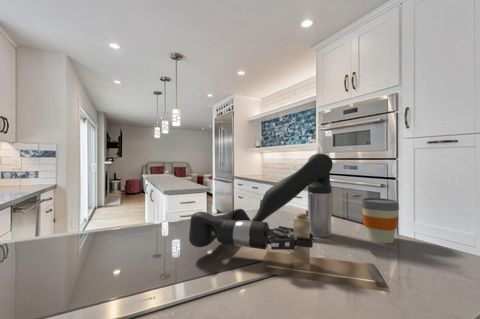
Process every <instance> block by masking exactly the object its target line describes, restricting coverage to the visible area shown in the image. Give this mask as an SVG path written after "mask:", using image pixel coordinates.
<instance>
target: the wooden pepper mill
mask: <svg viewBox="0 0 480 319" xmlns="http://www.w3.org/2000/svg"><path fill="white" fill-rule="evenodd" d="M293 229H294V237H297V239H298V237H301V238H310V217H306V213H301V212H299V213H297V214H296V215H295V216H294V217H293ZM293 255H294V268H298V269H305V270H309V268H310V257H311V256H310V255H311V248H308V247H299V246H297V247H296V248H295V247H294V250H293Z"/></svg>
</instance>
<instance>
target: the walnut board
mask: <svg viewBox="0 0 480 319" xmlns="http://www.w3.org/2000/svg"><path fill="white" fill-rule="evenodd" d="M256 272H257V273H258V272H259V273H264V274H271V275H277V276H284V277H289V278H297V279H302V280H310V281H315V282H323V283H329V284H336V285H342V286H348V287H354V288H355V287H356V288H361V289H366V290H367V289H368V290H373V291H374V290H375V291H381V292H386V293H391V291H390V290H389V288H388V285H387V284H386V282H385V280H384V279H383V277H382V275H381V274H380V272H379V270H378V269H377V267H376V265H375V264H374V263H370V262H366V263H363V262H357V261H348V260H347V261H346V260H341V259H340V260H339V259H331V258H323V257H316V256H310V268H309V270H305V269H298V268H294V253H291V254H290V253H282V252H277V251H276V252H275V251H266V253H265V255H264V256H263V258H262V261H261V262H260V264H259V265H258V267H257V270H256Z"/></svg>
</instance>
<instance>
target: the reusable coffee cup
mask: <svg viewBox="0 0 480 319" xmlns="http://www.w3.org/2000/svg"><path fill="white" fill-rule="evenodd" d="M360 206H361V207H362V208H361V209H362V212H361V215H362V223H363V226H364V229H365V236H366V239H368V240H369V241H372V242H375V243H380V244H393V243H394V241H395V232H396V230H397V228H398V221H399V215H398V214H399V210H400V205H399V201H398V200H395V199H390V198H382V197H381V198H380V197H365V198H361V205H360Z"/></svg>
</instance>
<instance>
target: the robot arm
mask: <svg viewBox="0 0 480 319" xmlns="http://www.w3.org/2000/svg"><path fill="white" fill-rule="evenodd" d="M333 164H334V163H333V160H332V158H331V157H330V155H328V154H326V153H315V154H313V155H311V156H310V157H309V158H308V160H307V162H305V163H304V164H303V165H302V166H301V167H300V168H299V169H298V170H297V171H295V172H293V173H292V174H290V175H288V176H287V177H285V178H283V179H281V180H280V181H278V182H276V183H275V184H274V185H273V186H271V187H269V189H267V190H266V191H265V193H264V195H263V197H262V199H261V202H260V206H259V207H258V210H257V212H256V214H255V216H254V217H252V219H251V218H250V217H249V216H248V213H247V212H246V211H245V210H244V209H242V208H237V209H233V210H231V211H228V212H226V213H224V214H220V215H213V214H211V213H208V212H205V211H196V212H194V213H193V214H192V215H191V216H190V220H189V234H188V240H189V243H190V244H191V246H193V247H195V248H204V247H206V246H209V245H210V244H212V243H213V242H214V241H215V240H216V241H217V242H218V243H220V244H224V245H232V246H239V247H242V248H247V249H249V248H251V249H257V250H266V249H268V246H269V245H270V250H272V251H273V250H274V251H275V250H278V251H280V250H282V251H283V250H285V251H286V250H291V251H294V247H295V248H296V247H297V246H299V247H308V248H310V249H311V248H313V246H314V244H313V242H314V237H318V238H329V237H332V186H331V185H332V184H331V176H330V175H331V173H330V172H331V171H332V169H333ZM306 188H307V209H305V214H306V217H310V238H301V237H298V239H297V237H294V227H293V228H291V227H287V226H281V225H279V226H278V227H274V228H270V225H269V223H268V222H267V221H264V220H266V219H267V218H269V217H270V216H272V215H273V214H274V213H276V212H277V211H279V210H280V209H282V208H283V207H284V206H286V205H287V204H288V203H289V202H291V201H292V200H293V199H295V198H296V197H297V196H299V195H300V194H301V192H303V191H304V190H305V189H306Z"/></svg>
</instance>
